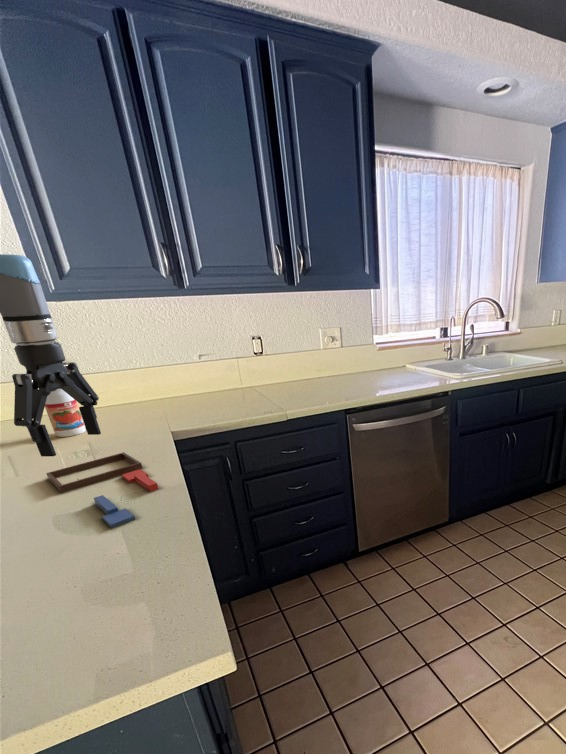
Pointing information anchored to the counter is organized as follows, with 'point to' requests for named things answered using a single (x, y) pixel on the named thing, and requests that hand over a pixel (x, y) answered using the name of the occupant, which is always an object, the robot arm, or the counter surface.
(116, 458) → the tray
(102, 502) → the blue stepped block
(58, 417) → the fruit juice
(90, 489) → the counter surface
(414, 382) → the counter surface
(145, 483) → the red t-shaped block
